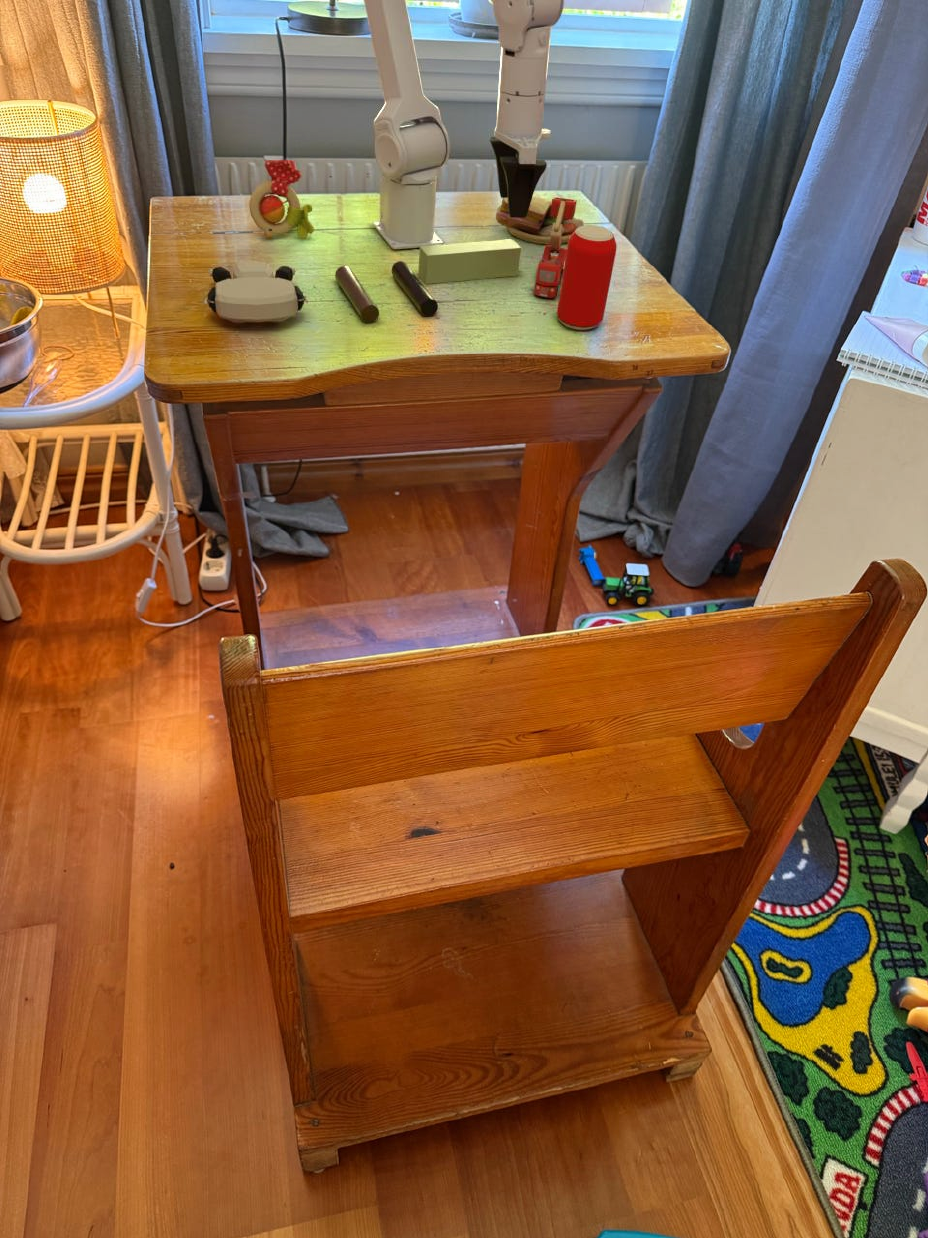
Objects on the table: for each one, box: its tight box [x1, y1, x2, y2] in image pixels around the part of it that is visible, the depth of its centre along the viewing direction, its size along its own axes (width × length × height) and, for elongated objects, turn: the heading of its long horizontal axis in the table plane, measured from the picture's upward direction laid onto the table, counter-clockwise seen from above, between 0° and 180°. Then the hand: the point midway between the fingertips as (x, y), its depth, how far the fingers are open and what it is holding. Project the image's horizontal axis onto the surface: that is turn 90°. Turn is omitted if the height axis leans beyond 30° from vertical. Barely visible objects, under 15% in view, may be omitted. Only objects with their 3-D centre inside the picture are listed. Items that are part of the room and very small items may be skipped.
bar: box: [417, 238, 522, 285], centre depth 128 cm, size 14×3×4 cm, turn 112°
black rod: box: [391, 260, 439, 318], centre depth 123 cm, size 12×2×2 cm, turn 22°
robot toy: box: [204, 260, 309, 324], centre depth 116 cm, size 12×4×15 cm
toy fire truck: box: [533, 196, 578, 299], centre depth 127 cm, size 3×14×10 cm, turn 168°
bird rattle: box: [248, 158, 315, 240], centre depth 131 cm, size 6×11×9 cm
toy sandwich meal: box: [495, 195, 585, 245], centre depth 142 cm, size 12×14×5 cm
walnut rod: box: [334, 265, 380, 324], centre depth 120 cm, size 12×2×2 cm, turn 22°
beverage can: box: [556, 224, 618, 331], centre depth 117 cm, size 6×6×12 cm
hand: (512, 206), depth 121 cm, fingers open, 7 cm apart
